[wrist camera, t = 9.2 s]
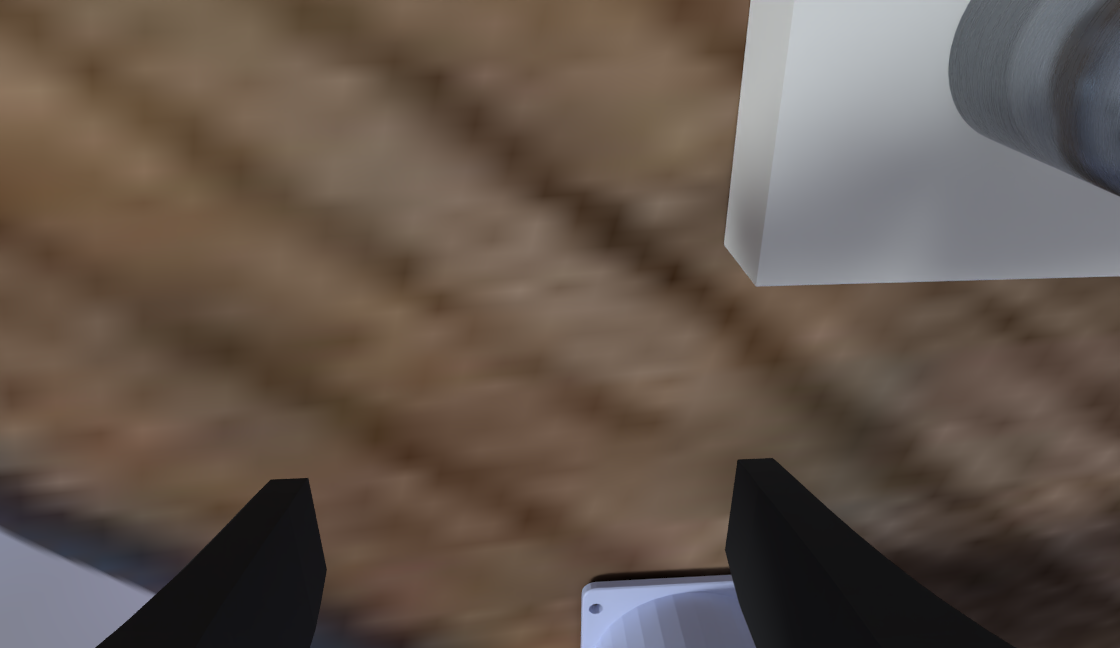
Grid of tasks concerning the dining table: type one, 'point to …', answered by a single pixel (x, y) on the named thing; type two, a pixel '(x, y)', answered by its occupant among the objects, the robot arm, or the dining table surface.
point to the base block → (889, 161)
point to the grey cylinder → (1043, 81)
